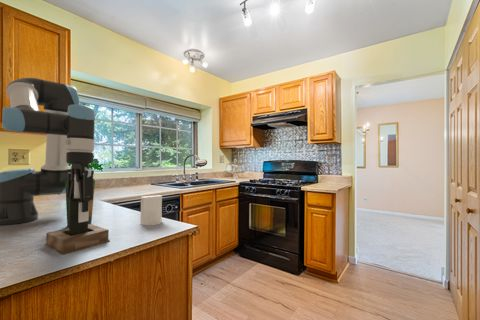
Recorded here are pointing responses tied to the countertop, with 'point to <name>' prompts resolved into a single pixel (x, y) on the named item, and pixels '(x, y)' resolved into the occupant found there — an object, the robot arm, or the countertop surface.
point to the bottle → (89, 205)
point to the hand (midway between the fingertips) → (78, 219)
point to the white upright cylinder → (151, 210)
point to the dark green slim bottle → (76, 214)
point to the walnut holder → (76, 239)
